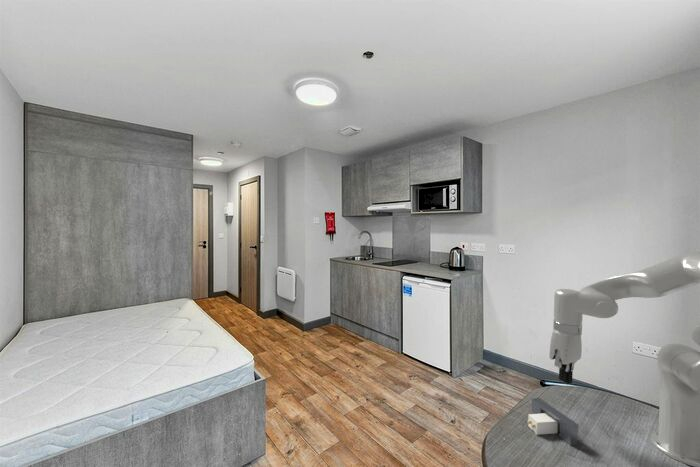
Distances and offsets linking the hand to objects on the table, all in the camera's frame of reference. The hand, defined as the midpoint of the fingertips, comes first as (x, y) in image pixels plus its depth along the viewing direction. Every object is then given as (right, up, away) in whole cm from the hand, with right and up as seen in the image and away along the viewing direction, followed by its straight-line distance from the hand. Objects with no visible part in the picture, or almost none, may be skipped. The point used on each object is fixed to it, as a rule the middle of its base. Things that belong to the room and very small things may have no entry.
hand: (565, 381), depth 95 cm
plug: (-6, -15, -1) cm, 17 cm away
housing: (-5, -15, -1) cm, 16 cm away
